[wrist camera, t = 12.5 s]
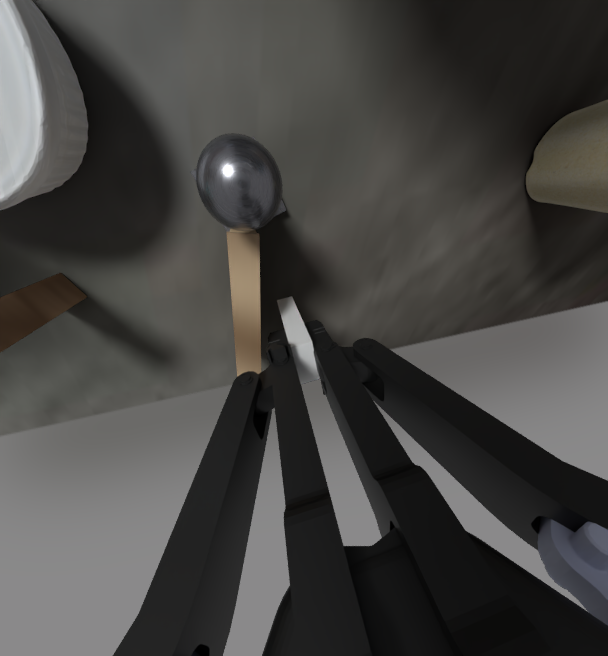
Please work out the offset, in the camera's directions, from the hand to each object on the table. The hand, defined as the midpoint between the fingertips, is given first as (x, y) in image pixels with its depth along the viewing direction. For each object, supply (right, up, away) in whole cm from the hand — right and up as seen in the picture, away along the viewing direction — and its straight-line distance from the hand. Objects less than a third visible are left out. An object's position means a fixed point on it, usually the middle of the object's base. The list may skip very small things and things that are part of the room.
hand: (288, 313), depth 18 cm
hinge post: (-3, +8, -2) cm, 9 cm away
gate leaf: (-3, +2, 0) cm, 4 cm away
